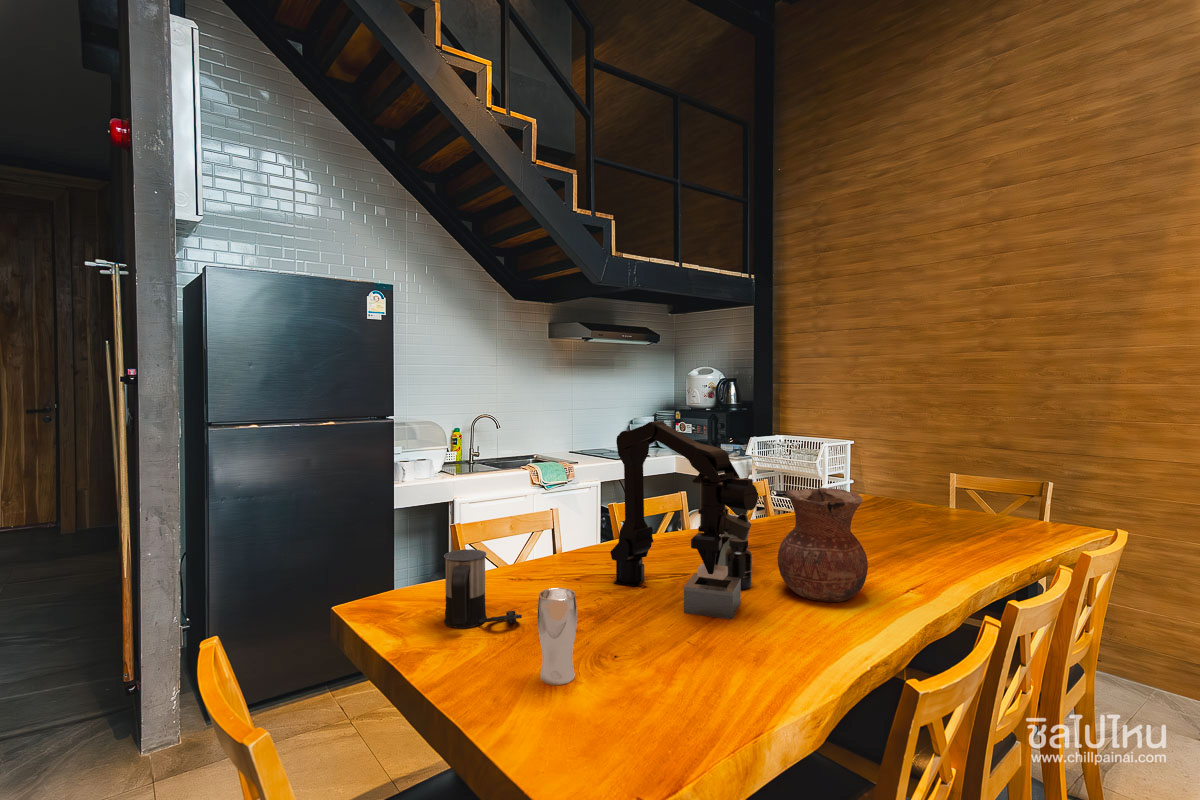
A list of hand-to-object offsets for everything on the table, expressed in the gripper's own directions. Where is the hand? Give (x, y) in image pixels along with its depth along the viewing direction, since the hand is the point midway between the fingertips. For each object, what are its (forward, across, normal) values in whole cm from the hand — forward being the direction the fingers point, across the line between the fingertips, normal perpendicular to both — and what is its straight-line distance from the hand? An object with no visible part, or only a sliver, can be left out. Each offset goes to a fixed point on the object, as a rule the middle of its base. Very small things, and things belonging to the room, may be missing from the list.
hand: (712, 571), depth 147 cm
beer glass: (+9, -44, +19) cm, 49 cm away
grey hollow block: (+9, 0, 0) cm, 9 cm away
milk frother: (+9, -27, +45) cm, 53 cm away
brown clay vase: (+9, +20, -23) cm, 32 cm away
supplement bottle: (+9, +18, -3) cm, 20 cm away
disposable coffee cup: (+9, +31, +1) cm, 32 cm away
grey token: (+1, 0, 0) cm, 1 cm away
